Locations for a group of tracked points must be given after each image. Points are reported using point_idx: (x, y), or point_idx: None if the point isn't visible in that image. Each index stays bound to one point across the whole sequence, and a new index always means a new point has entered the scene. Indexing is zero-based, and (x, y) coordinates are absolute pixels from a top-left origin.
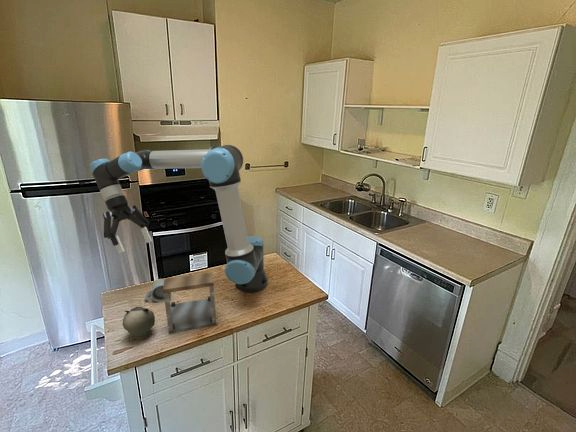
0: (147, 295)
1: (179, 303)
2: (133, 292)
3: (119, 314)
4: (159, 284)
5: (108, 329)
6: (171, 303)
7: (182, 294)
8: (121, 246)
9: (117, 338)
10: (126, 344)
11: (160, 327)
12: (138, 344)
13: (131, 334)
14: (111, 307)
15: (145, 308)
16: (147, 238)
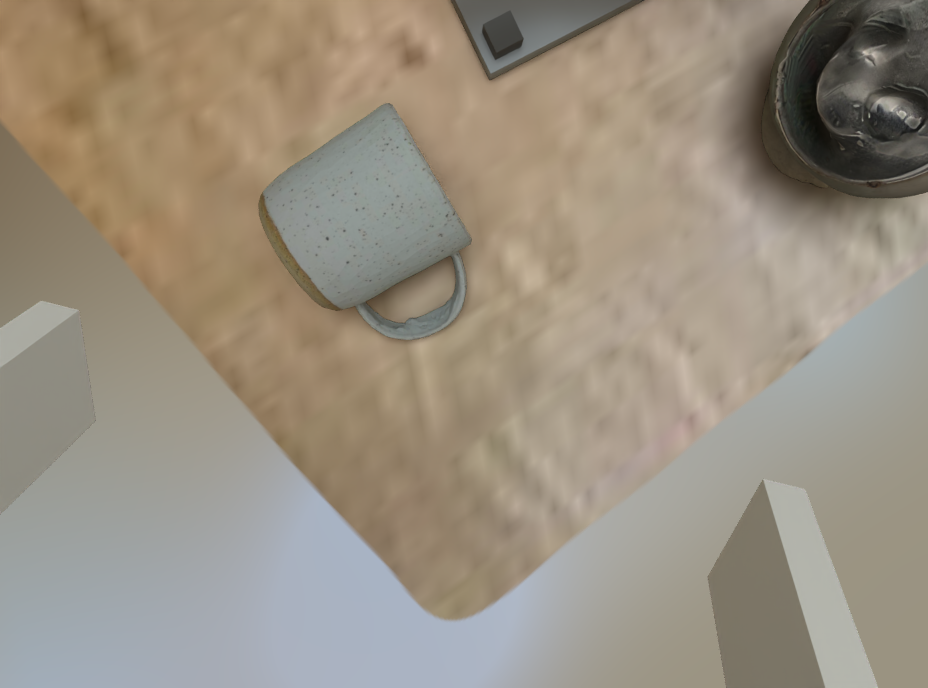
0: (405, 326)
1: (466, 3)
2: (363, 474)
3: (634, 401)
4: (406, 181)
5: (791, 368)
6: (510, 41)
7: (311, 70)
8: (827, 581)
9: (865, 252)
10: None
11: (726, 27)
12: None
13: (822, 183)
14: (569, 508)
15: (908, 5)
16: (23, 411)
